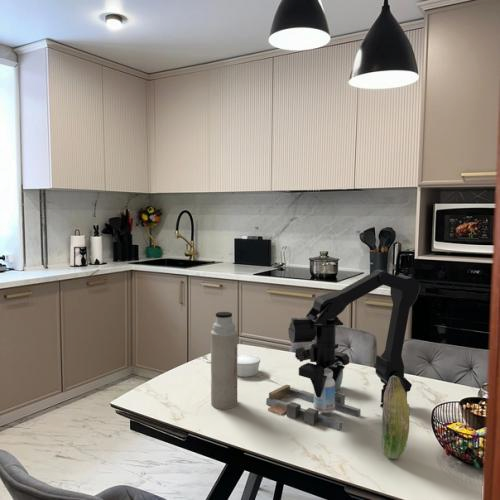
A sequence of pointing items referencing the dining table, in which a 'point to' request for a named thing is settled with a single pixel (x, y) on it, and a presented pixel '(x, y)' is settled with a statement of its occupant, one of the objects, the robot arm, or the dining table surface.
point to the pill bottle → (326, 394)
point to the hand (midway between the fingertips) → (324, 393)
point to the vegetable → (394, 419)
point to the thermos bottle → (224, 362)
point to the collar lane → (310, 414)
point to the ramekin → (247, 365)
